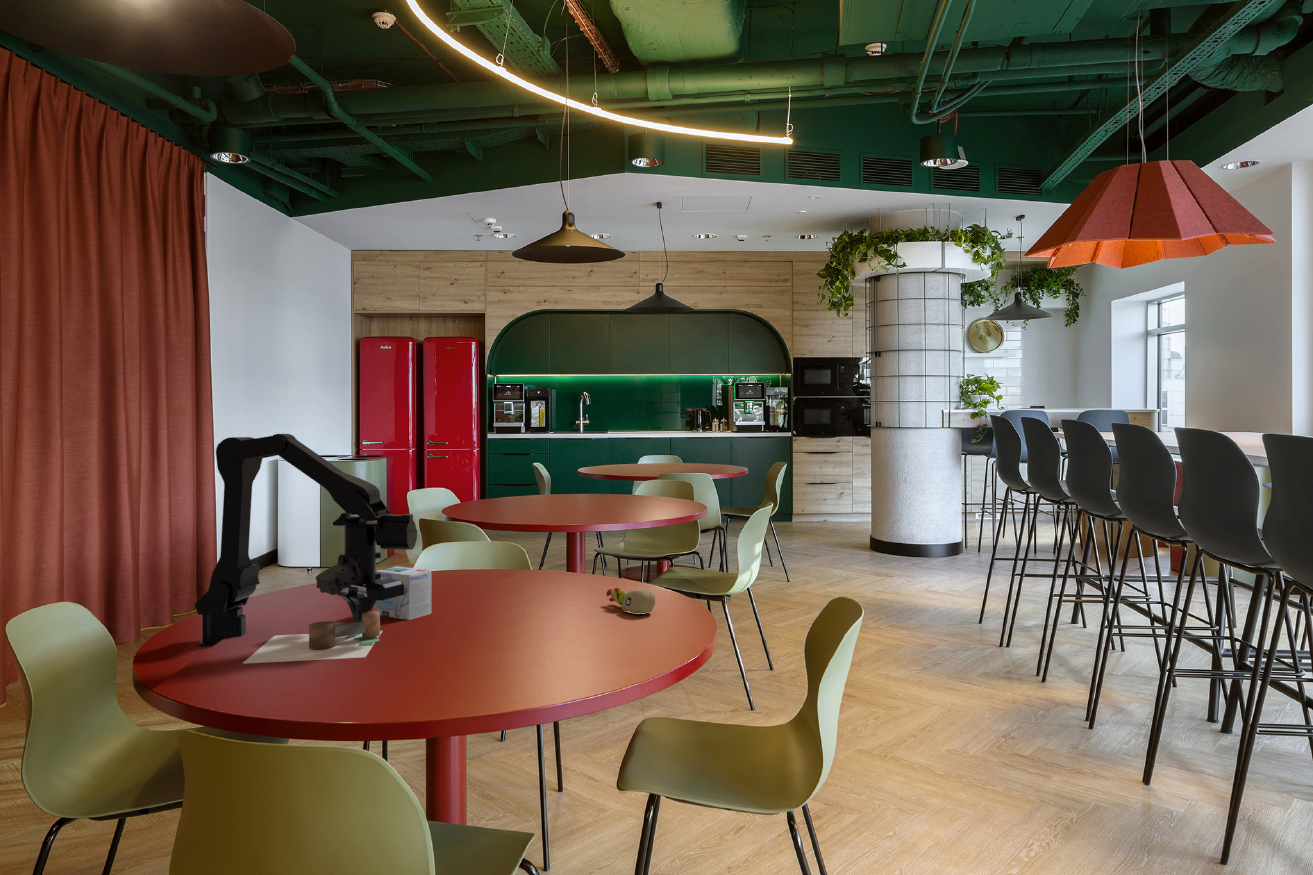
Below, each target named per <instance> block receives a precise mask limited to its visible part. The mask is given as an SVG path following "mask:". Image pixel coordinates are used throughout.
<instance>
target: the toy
mask: <svg viewBox="0 0 1313 875" xmlns="http://www.w3.org/2000/svg"><path fill="white" fill-rule="evenodd" d="M605 594H606V597H607V598H608V597H609V596H611V597H610V598H608V601H609V602H610V603H612V602H616V603H618V605H619V606H621V609H622V611H623V610H624V611H630V612H633V613H647V612H651V611H653V610H654V608H655V605H656V600H657V599H656V595H655V593H653V592H652V591H650V590H649V589H645V588H638V589H637V588H636V589H633V590H630V591H628V592H627V591H625V590H624V589H621V588H619V587H615V588H613V589H612V588H611V589H610V588H609V589H607V591H606V593H605ZM624 611H623V612H624Z"/></svg>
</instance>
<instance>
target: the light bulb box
mask: <svg viewBox="0 0 1313 875" xmlns="http://www.w3.org/2000/svg"><path fill="white" fill-rule="evenodd" d="M376 573H381V579H376V580H375V581H379V580H383V579H388V578H390V579H395V580H401V581H402V582H403V583H404V595H401V596H397V597H394V598H390V599H386V600H379V601H378V600H377V601H376V602H375V604H374V611H379V612H380V617H381V616H383V617H388V618H394V619H401V620H407V621H409V620H413V619H417V618H420V617H424V616H429V615H431V614H432V583H433V582H432V581H433V580H432V570H431V569H425V568H416V567H406V566H392V567H388V568H383V569H378V570H376Z"/></svg>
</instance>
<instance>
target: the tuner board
mask: <svg viewBox="0 0 1313 875" xmlns="http://www.w3.org/2000/svg"><path fill="white" fill-rule="evenodd" d="M382 633H383V630H380V635H379V636H376V637H362V633H360V634H354V635H349V636H343V637H337V638H335V646H333V647H331V648H326V649H310V648H309V633H305V634H303V633H300V634H281V635H279V634H277V635H273V636H272V638H270V639H269V640H268V641H267V642H265V643H264V644H263V645H262V646H260V647H259V648H258V649H257V650H256V651H255V652H254V653H253V654H251V655H250V656H249V657H248V658H247V659H246V660H244V661H243V662H242V664H260V663H261V664H262V663H278V662H279V663H280V662H283V663H284V662H297V661H298V662H299V661H317V660H318V661H321V660H322V661H323V660H339V659H341V660H342V659H361V658H363V659H364V658H366V657H367V655H368V654H369V652H370V651H371V649H372V647H373V646H374V644H376V643H379V642H380V641H381V640H380V636H381V634H382Z"/></svg>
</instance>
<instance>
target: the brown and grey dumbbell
mask: <svg viewBox="0 0 1313 875" xmlns="http://www.w3.org/2000/svg"><path fill="white" fill-rule="evenodd" d="M380 631H381V615H380V612H379V611H375V610H371V611H367V612H363V613H362V621H356V622H355V621H352V622H345V623H340V624H336V622H334V621H330V620H329V621H328V620H326V621H325V620H323V621H317V622H312V623H310V624H309V625H308V634H309V648H310V649H326V648H331V647H333V646H335V638H337V637H343V636H349V635H354V634H360V633H362V637H376V636H379V635H380V636H381V634H380ZM380 636H379V637H380Z"/></svg>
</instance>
